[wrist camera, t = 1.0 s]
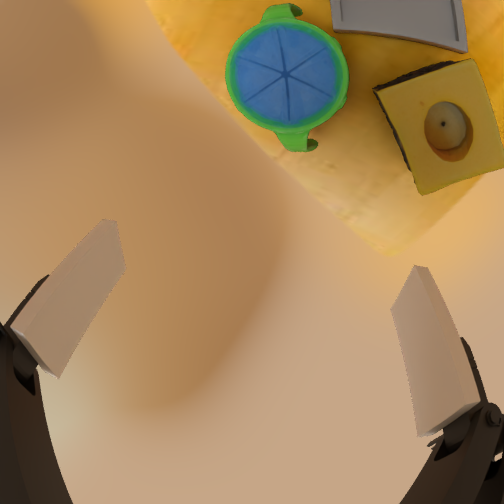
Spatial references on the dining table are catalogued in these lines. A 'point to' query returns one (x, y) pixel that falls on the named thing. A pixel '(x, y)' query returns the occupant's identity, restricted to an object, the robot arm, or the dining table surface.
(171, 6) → the dining table surface
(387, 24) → the tray
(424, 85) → the candle
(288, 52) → the snack cup
